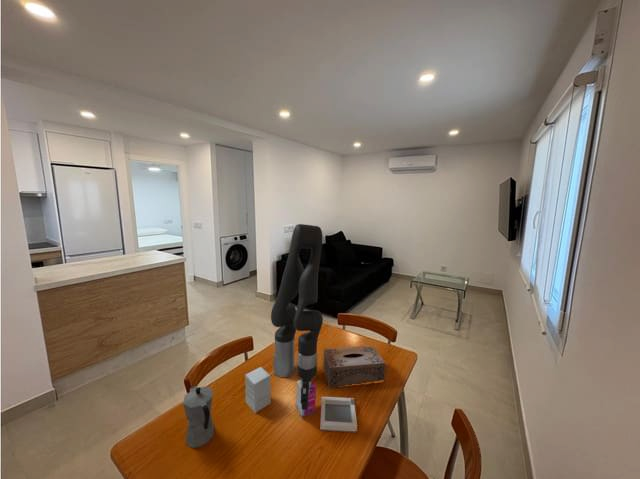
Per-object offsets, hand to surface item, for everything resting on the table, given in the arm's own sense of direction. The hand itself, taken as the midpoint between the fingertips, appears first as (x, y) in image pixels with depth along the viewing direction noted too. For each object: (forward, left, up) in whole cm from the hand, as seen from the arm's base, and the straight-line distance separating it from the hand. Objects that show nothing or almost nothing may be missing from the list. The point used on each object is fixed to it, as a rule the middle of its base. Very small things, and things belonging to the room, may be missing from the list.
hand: (305, 400), depth 96 cm
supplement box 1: (-19, +3, -5) cm, 20 cm away
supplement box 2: (0, 0, -4) cm, 4 cm away
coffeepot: (-34, -13, -5) cm, 37 cm away
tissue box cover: (+20, +23, -6) cm, 31 cm away
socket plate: (+13, -1, -5) cm, 14 cm away
